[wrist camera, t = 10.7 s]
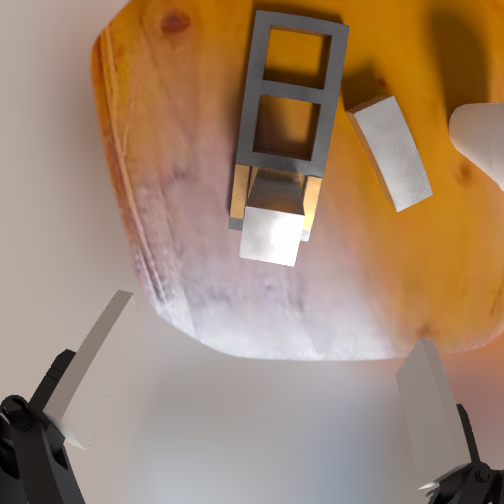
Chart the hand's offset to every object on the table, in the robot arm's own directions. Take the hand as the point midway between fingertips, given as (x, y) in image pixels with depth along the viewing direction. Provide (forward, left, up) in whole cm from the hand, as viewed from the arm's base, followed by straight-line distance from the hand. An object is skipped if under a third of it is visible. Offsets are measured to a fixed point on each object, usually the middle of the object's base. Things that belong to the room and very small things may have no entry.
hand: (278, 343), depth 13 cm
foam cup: (-12, +21, -23) cm, 33 cm away
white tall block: (+1, -1, -23) cm, 23 cm away
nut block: (-6, +10, -23) cm, 26 cm away
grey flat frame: (-6, -1, -23) cm, 24 cm away
